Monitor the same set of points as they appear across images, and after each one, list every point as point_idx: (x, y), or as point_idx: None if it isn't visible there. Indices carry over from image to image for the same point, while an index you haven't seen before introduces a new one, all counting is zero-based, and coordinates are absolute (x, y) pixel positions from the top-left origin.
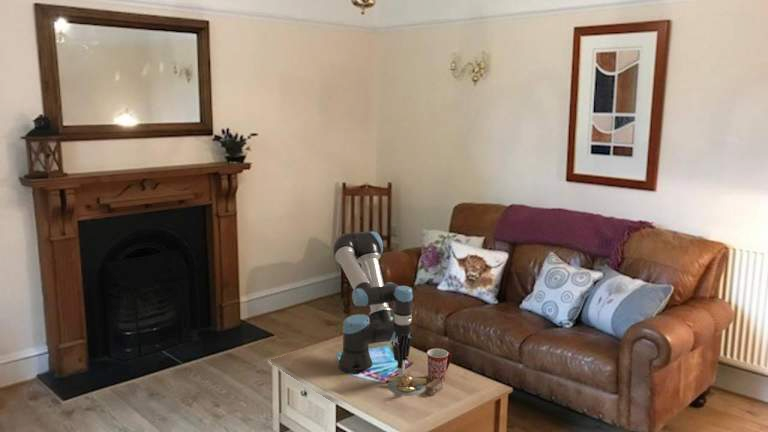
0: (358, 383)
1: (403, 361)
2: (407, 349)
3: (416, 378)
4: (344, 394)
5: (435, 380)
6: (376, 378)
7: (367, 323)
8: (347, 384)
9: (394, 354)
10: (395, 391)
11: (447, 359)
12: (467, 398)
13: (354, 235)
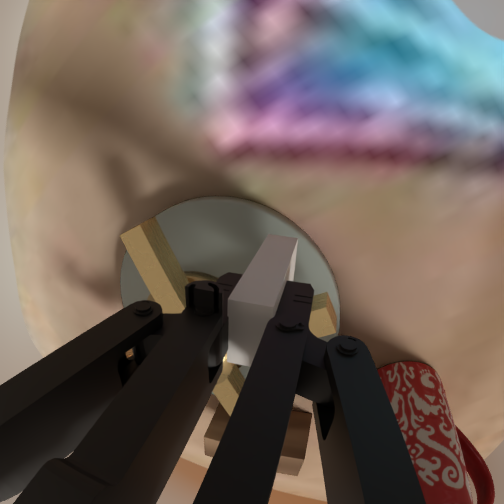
0: (122, 32)
1: (236, 360)
2: (325, 467)
3: (232, 397)
4: (26, 78)
5: (283, 459)
6: (238, 63)
7: None
8: (89, 8)
9: (69, 354)
10: (133, 285)
11: (483, 475)
12: (304, 484)
13: None
